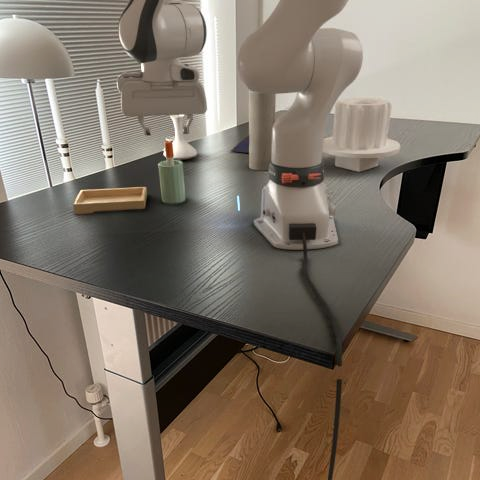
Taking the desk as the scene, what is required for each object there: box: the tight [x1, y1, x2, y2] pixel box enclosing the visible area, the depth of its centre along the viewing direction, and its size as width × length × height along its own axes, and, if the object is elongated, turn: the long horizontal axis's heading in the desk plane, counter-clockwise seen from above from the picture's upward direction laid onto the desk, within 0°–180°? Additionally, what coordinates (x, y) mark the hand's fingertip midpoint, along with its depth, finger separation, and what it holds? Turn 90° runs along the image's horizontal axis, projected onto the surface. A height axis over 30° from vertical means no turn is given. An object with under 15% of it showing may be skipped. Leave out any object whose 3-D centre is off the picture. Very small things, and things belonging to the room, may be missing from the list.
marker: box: [163, 140, 174, 166], centre depth 122 cm, size 2×2×14 cm
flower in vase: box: [163, 115, 198, 161], centre depth 157 cm, size 13×11×25 cm
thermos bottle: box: [248, 89, 277, 171], centre depth 145 cm, size 8×8×28 cm
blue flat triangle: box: [230, 135, 249, 154], centre depth 176 cm, size 24×30×4 cm
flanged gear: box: [323, 97, 401, 173], centre depth 147 cm, size 25×25×19 cm
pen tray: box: [72, 186, 148, 215], centre depth 124 cm, size 11×17×3 cm, turn 97°
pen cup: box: [157, 160, 187, 204], centre depth 124 cm, size 6×6×10 cm
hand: (167, 134), depth 117 cm, fingers open, 8 cm apart
